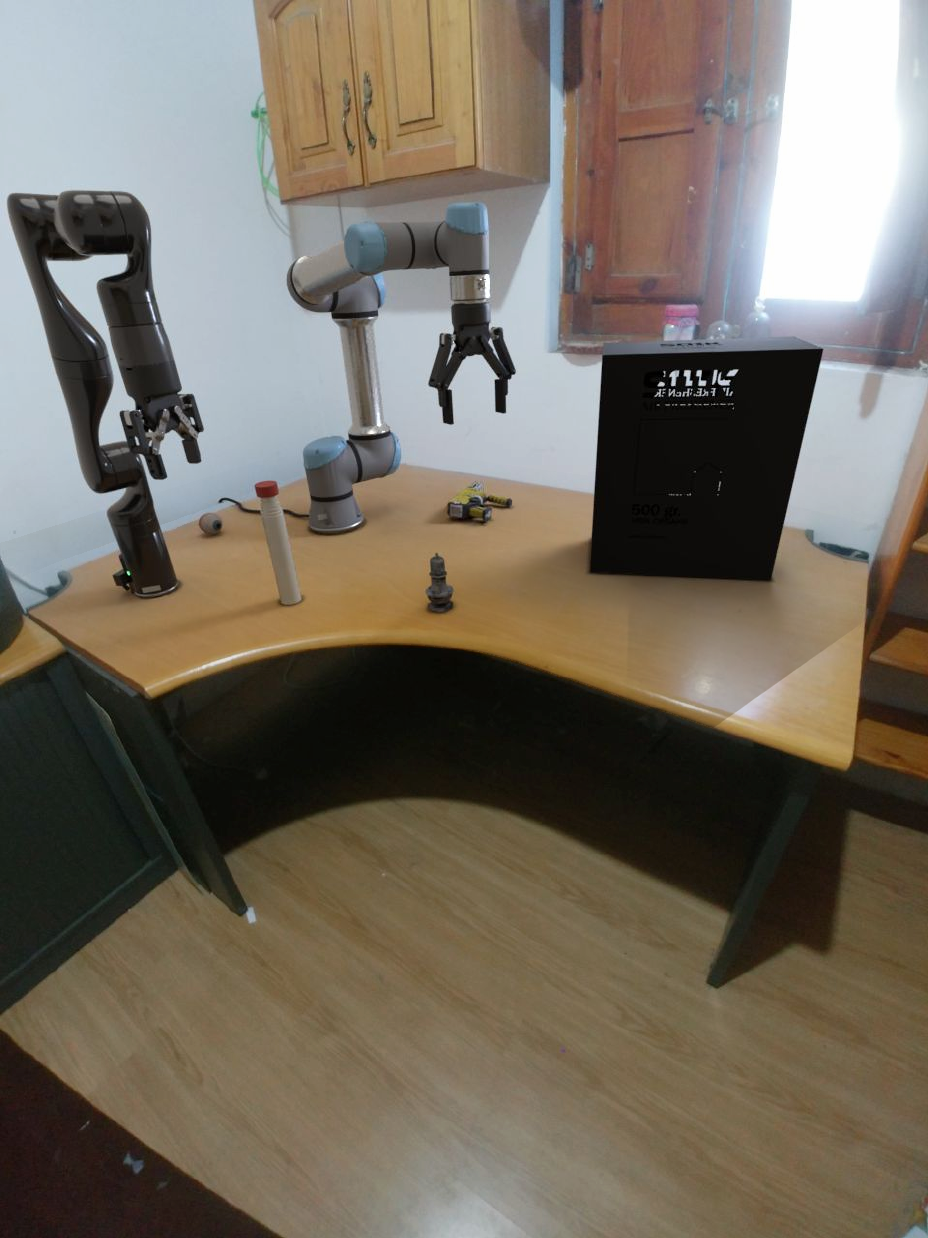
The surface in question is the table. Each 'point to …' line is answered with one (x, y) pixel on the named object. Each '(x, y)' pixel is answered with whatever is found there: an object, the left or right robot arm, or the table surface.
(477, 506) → the toy gun
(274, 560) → the bottle
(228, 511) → the table surface
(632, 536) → the cardboard box
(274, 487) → the cap
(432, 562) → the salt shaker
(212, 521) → the eyeball
